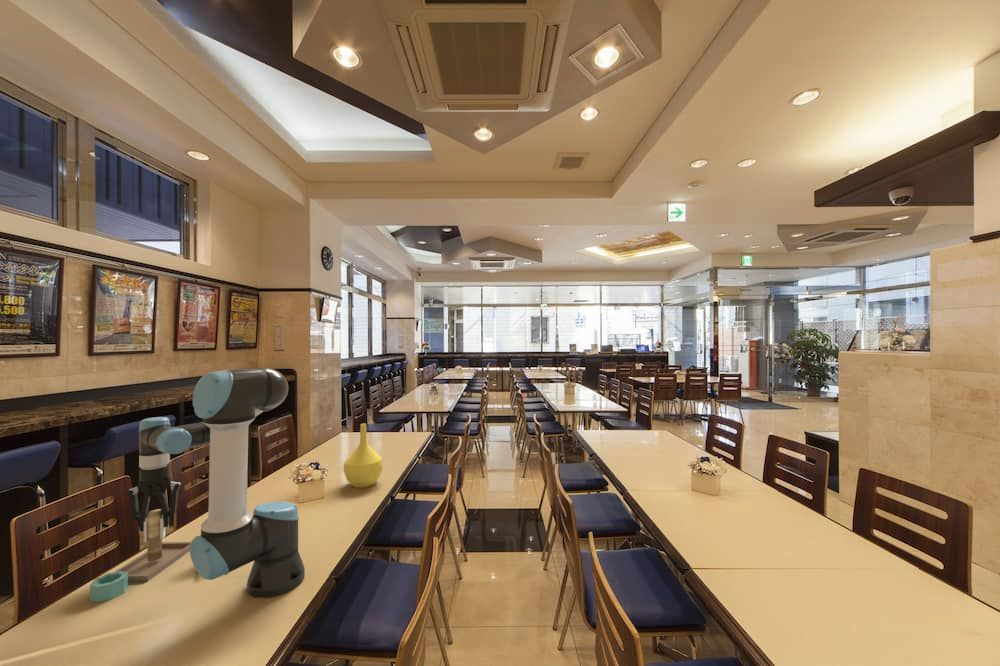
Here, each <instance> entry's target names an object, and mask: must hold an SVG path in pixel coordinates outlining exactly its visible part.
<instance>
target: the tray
mask: <svg viewBox="0 0 1000 666" xmlns="http://www.w3.org/2000/svg"><path fill="white" fill-rule="evenodd" d="M190 544H191V541H165V542H164V541H162V557H161V558H160V559H158V560H155V561H148V560H147V550H146V551H145V552H143V553H142V554H140V555H138V556H137V557H136V558H134V559H132V560H131V561H130V562H128V563H126V564H124V565H123V566H121V567H120V568H118V569H117V570H115V571H114V572H117V571H124V572H128V583H137V582H138V583H139V582H141V583H144V582H145V583H146V582H149V581H151V580H152V579H153V578H154V577H157V575H159V574H160V573H162V572H163V571H164V570H165V569H167V568H168V567H170V566H171V565H173V564H174V563H176V562H177V561H178V560H180V559H181V558H182V557H184V556H185V555H186V554H189V553H190Z"/></svg>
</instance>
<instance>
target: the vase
mask: <svg viewBox="0 0 1000 666" xmlns="http://www.w3.org/2000/svg"><path fill="white" fill-rule="evenodd" d="M359 429H360V431H359V432H360V435H359V438H360V439H359V440H360V441H359V444H358V446H357V447H356V448H355V450H353V452H352V453H351V454H350V455H349V456H348V457H347V458H346V459H345V461H344V463H343V472H344V475H345V478H346V480H347V482H348V483H349V484H350V485H351V486H352V487H354V488H367V487H370V486H373V485H374V484H375V483H376V482H377V481H378V479H379V478H380V476H381V474H382V471H383V466H384V465H383V459H382V457H381V455H380V454H378V453H377V452H376V451H375V450H374V449H373V448H372V447H371V445H369V443H368V442H367V440H368V439H367V423H361V424H360V428H359Z"/></svg>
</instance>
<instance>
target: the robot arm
mask: <svg viewBox="0 0 1000 666" xmlns="http://www.w3.org/2000/svg"><path fill="white" fill-rule="evenodd" d="M194 387H195V388H194V390H193V394H192V407H193V408H194V409H193V411H194V414H195V415H196V416H197V417H198V418H200V419H203V420H202V421H201V422H196V423H188V424H184V425H179V426H178V425H177V426H171V422H170V418H169V417H167V416H156V417H147V418H144V419H142V420H140V422H139V429H138V437H139V438H138V439H139V440H138V442H139V444H138V445H139V446H138V449H139V456H138V457H139V459H138V467H139V468H140V469H139V470H138V484H137V486H135V487H131V488H129V490H128V491H127V492H126V494H127V496H128V498H129V504H130V505H129V506H130V517H131V521H132V522H139V532H143V543H147V513H148V512H149V506H150V503H151V497H153V496H157V498H158V500H159V505H160V509H162V518H161V519H160V539H162V540H163V539H165V537H166V528H168V526H170V516H173V515H175V513H176V512H177V508H178V497H179V489H180V486H181V484H182V482H181V481H177V482H176V481H173V480H172V478H171V469H170V468H171V467H170V466H171V464H170V462H171V455H177V454H182V453H183V452H185V451H186V450H188V449H191V448H196V447H200V446H206V445H209V467H208V468H209V470H208V511H207V512H208V513H207V514H208V515H207V516H208V517H207V519H205V520H204V521H203V522H202V523H201V525H200V535H197V536H196V537H194V538H192V540H191V541H190V542H191V544H190V551H189V553H190V554H189V555H190V559H191V562H192V565H193V567H194V568H195V570H196V572H197V573H198V575H199V576H200V577H201V578H203V579H205V580H208V581H211V580H216V579H218V578H220V577H223V576H227V575H229V573H231V572H233V571H235V570H237V569H239V568H242V567H243V566H246V565H248V564H250V563H252V562H253V563H252V566H251V569H250V572H249V575H248V578H247V582H246V592H247V594H248V596H250V597H252V598H257V599H269V598H275V597H278V596H281V595H284V594H286V593H288V592H290V591H292V590H293V589H296V588H297V587H298V586H299V585H301V583H302V582H303V581H304V579H305V575H306V572H305V565H304V562H303V560H302V557H301V555H300V552H299V519H300V518H299V510H298V509H299V508H298V506H297V505H296V504H295V503H293V502H291V501H285V500H283V501H281V500H279V501H269V502H264V503H261V504H258V505H257V506H255V507H254V509H253V511H252V512H250V511H248V510H247V505H248V501H247V500H248V467H249V466H248V465H249V463H248V462H249V461H248V460H249V459H248V458H249V425H250V424H251V423H252V422H253V421H254V420H255V419H256V417H258V416H259V415H260V414H262V413H263V412H270V411H272V410H274V409H275V408H277V407H278V406H280V405H282V403H283V402H284V401H285V400H286V398H287V396H288V395H289V384H288V381H287V379H286V377H285V375H283V373H281V372H280V371H278V370H276V369H273V368H270V367H257V368H256V367H255V368H244V369H241V368H240V369H239V368H238V369H223V370H218V371H212V372H210V371H209V372H207V373H206V374H204V375H202V376H201V377H200V379H199V380H198V381H197V383H196V385H195V386H194ZM169 486H170V489H171V490H172V491H171V497H170V498H171V499H170V508H169V502H168V500H167V493H166V491H167V489H168V488H169ZM139 492H141V493H142V494H143V499H142V500H143V502H142V505H141V506H142V507H141V509H139V499H138V496H139V495H138V493H139Z"/></svg>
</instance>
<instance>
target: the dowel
mask: <svg viewBox="0 0 1000 666" xmlns="http://www.w3.org/2000/svg"><path fill="white" fill-rule="evenodd" d="M162 516H163V514H162V509H161V508H159V509H158V508H157V509H153V510H150V511H149V510H148V512H147V517H146V518H147V542H146V543H147V549H146V551H147V560H148V561H155V560H158V559H160V558H161V557H162V542H163V539H160V519H161V518H162Z"/></svg>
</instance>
